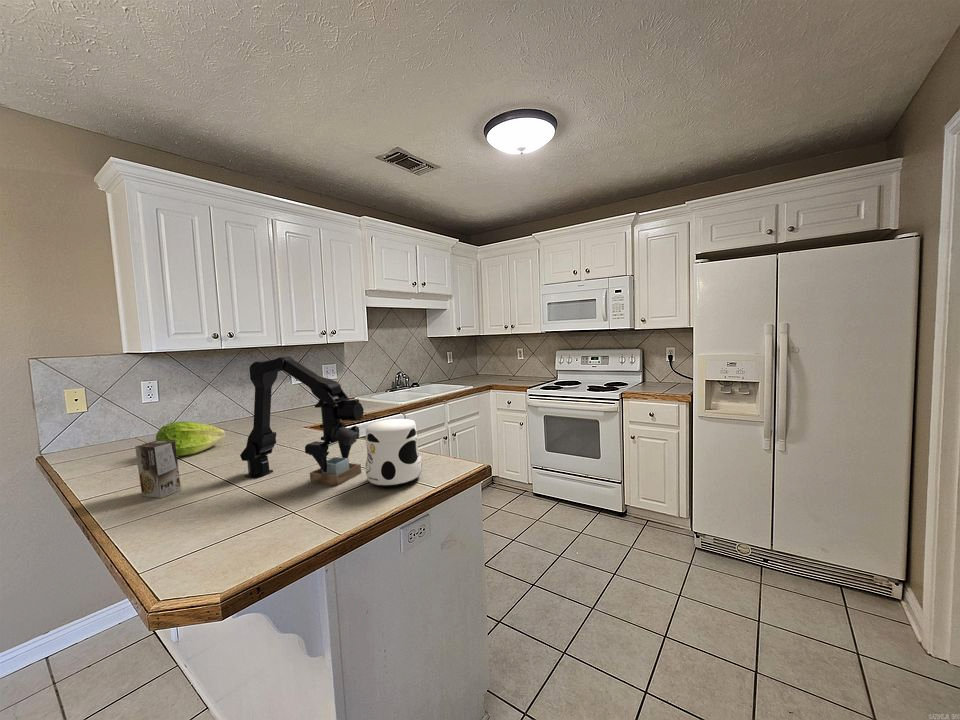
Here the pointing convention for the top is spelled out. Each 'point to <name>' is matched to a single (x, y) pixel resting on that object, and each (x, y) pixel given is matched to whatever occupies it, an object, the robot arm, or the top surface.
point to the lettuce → (190, 436)
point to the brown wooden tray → (335, 479)
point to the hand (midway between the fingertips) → (335, 467)
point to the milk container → (392, 452)
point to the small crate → (337, 466)
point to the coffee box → (158, 468)
